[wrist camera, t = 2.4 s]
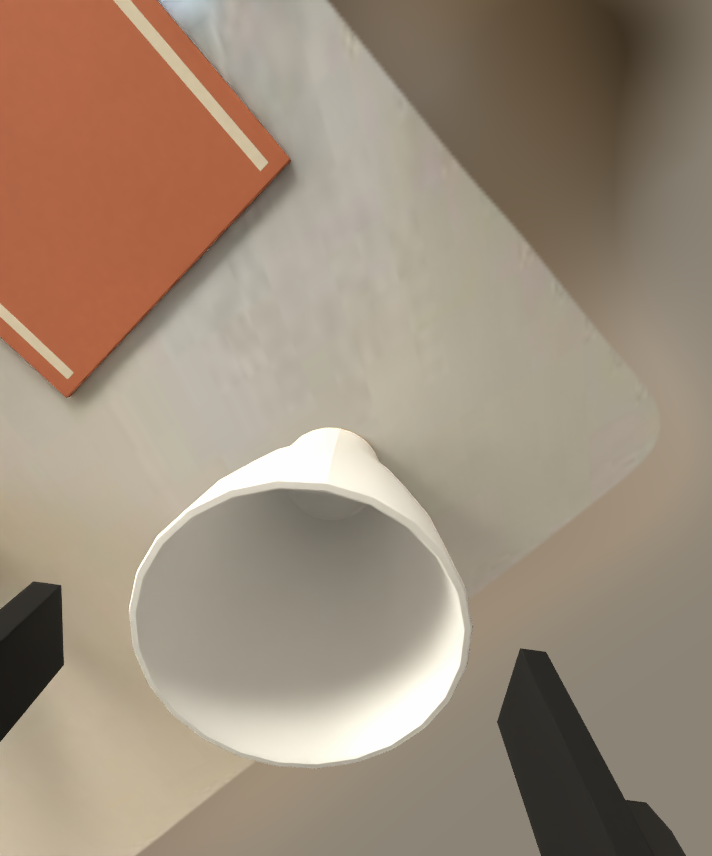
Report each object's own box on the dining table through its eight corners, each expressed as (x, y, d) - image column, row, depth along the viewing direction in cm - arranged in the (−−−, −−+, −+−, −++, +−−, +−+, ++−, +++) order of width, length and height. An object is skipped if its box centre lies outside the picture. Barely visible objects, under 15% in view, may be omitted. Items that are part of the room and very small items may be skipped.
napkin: (291, 160, 22) (290, 158, 22) (69, 396, 25) (66, 397, 25) (-5, -192, 19) (-11, -201, 18) (-214, 135, 22) (-222, 132, 22)
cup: (235, 537, 28) (120, 744, 14) (255, 374, 25) (133, 448, 12) (399, 565, 28) (431, 791, 15) (436, 406, 25) (514, 513, 12)
